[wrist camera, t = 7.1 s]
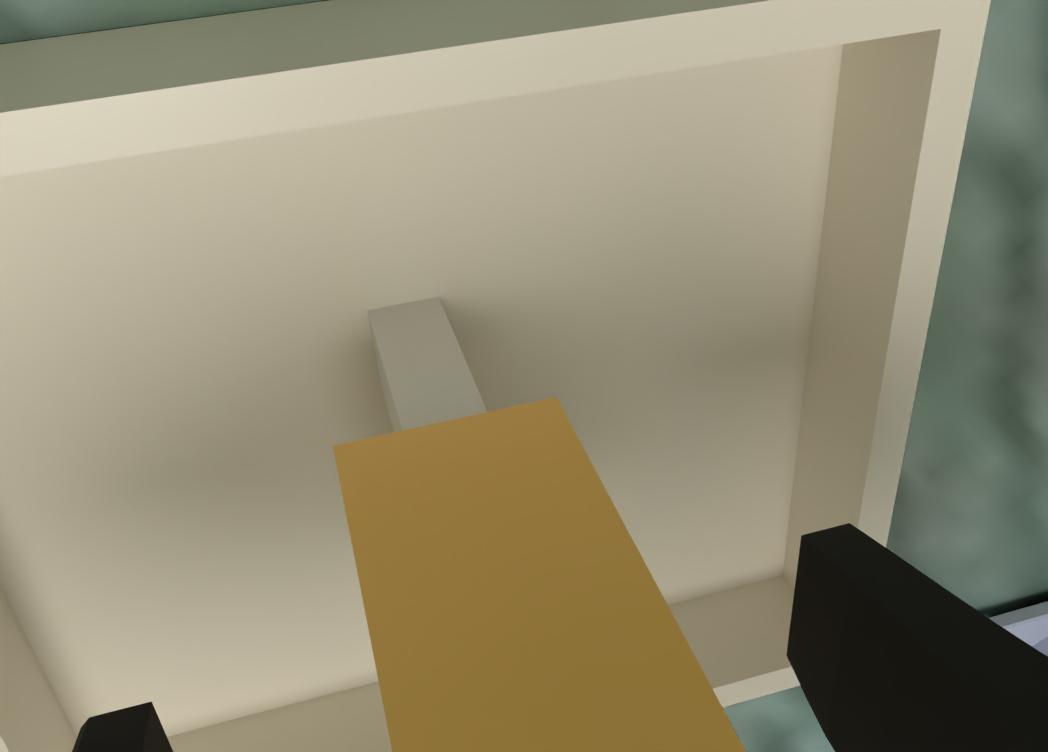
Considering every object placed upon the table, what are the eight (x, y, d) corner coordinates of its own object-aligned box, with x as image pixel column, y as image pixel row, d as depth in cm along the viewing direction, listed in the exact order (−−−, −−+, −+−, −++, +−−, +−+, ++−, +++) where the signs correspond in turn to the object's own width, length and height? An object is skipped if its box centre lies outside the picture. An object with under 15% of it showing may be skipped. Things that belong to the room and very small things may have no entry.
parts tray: (871, -73, 13) (997, -33, 11) (793, 568, 20) (863, 667, 18) (-296, 83, 11) (-411, 173, 9) (65, 759, 18) (49, 899, 15)
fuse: (493, 279, 14) (762, 781, 7) (515, 513, 17) (732, 1044, 10) (307, 315, 14) (418, 884, 7) (358, 551, 16) (476, 1135, 9)
